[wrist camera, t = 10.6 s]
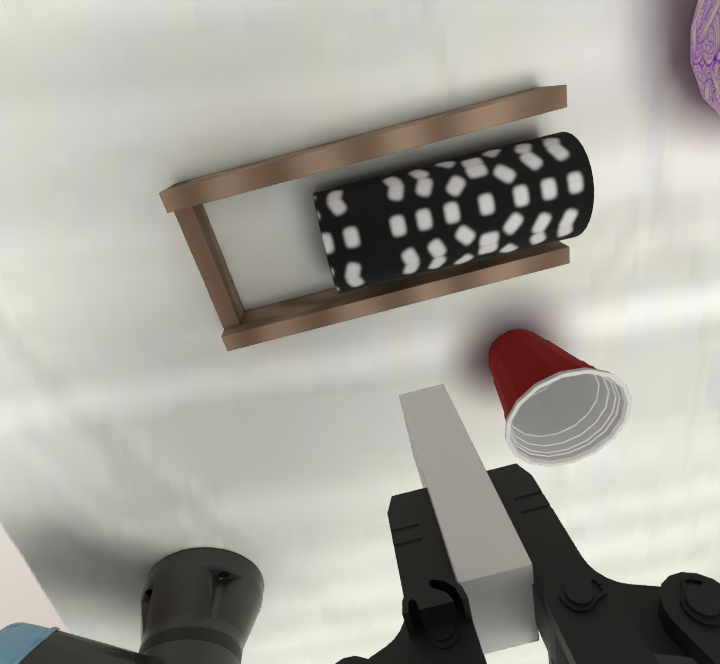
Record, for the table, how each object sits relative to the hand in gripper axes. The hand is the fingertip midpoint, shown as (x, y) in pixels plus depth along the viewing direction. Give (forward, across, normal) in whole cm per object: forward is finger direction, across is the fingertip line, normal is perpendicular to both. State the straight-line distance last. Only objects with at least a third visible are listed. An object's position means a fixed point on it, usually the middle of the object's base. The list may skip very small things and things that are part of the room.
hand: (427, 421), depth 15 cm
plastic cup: (+29, +14, -18) cm, 36 cm away
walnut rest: (+28, +2, 0) cm, 28 cm away
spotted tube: (+24, -3, 0) cm, 24 cm away
